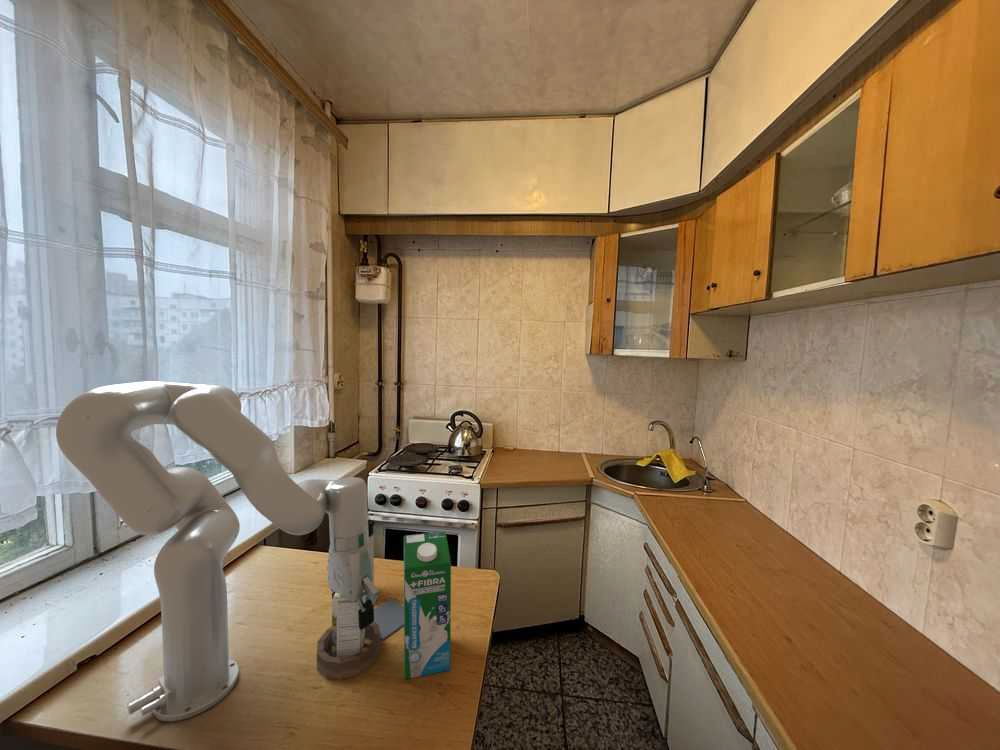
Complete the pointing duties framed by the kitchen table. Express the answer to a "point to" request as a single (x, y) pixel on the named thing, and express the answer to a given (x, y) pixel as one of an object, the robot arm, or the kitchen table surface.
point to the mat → (389, 617)
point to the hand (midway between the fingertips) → (352, 615)
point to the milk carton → (427, 604)
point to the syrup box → (346, 627)
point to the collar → (349, 664)
